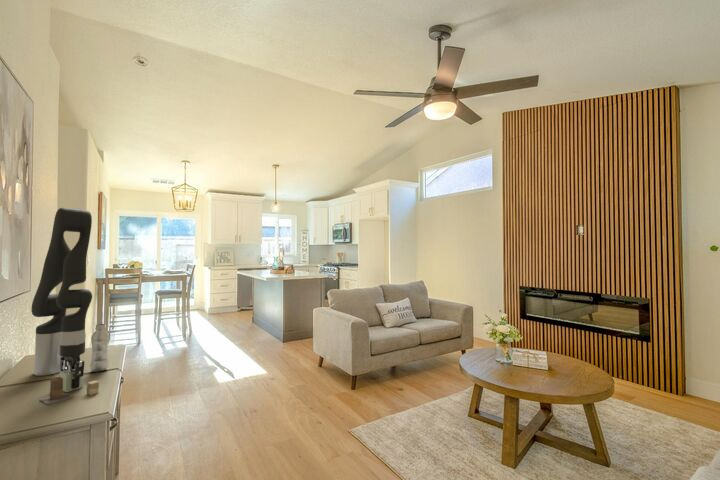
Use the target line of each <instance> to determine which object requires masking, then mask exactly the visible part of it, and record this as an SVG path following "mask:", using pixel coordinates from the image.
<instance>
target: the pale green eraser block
mask: <svg viewBox="0 0 720 480" xmlns="http://www.w3.org/2000/svg"><path fill="white" fill-rule="evenodd" d="M73 370H75V369H73ZM80 372H81V371H80ZM77 374H78V373H77ZM59 377H61V378H63V393H67V392H71V391H75V390H78V389H82V388H83V387H84V386H83V385H84V384H83V383H84V382H83V381H84V379H83V377H84V375H83V376H82V377H80V383H79V387H78V388H75V389H72V388H71V387H72V376H71V373H69V370H65V371H61V372H59Z"/></svg>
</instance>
